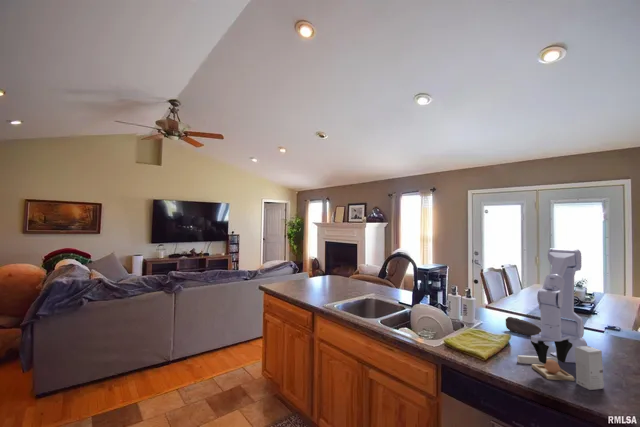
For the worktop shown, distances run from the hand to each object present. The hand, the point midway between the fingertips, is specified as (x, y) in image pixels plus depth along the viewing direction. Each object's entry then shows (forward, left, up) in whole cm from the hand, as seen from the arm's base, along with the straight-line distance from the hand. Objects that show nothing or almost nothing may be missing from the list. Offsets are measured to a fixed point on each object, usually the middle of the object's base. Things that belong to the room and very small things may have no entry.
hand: (551, 361), depth 103 cm
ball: (0, 0, -4) cm, 4 cm away
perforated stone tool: (-14, -41, -5) cm, 43 cm away
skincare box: (-7, +7, -4) cm, 11 cm away
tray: (0, 0, -4) cm, 4 cm away
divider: (0, -8, -4) cm, 9 cm away
